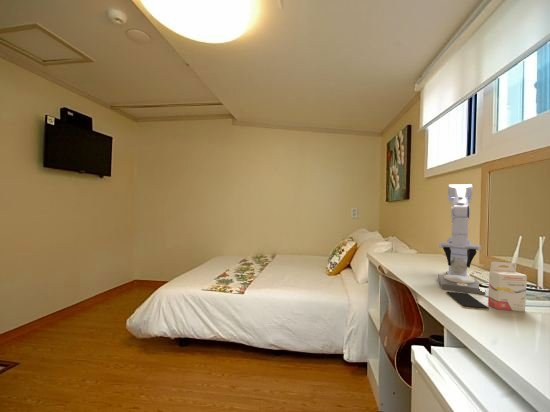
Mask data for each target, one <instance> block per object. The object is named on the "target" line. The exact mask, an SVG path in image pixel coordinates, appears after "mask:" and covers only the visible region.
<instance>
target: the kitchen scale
mask: <svg viewBox="0 0 550 412" xmlns="http://www.w3.org/2000/svg"><path fill="white" fill-rule="evenodd" d="M437 280H438V282H439V284H440V287H441V289H442V290H449V291H454V292H461V293H473V294H479V295H486V291H485V292H482V291H480V289H479V286H478V285H479V283H480V282H479V280H478V279H477V278H474V277H470V276H468V277H465V276H460V275H448V274H437Z"/></svg>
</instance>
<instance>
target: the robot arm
mask: <svg viewBox="0 0 550 412" xmlns="http://www.w3.org/2000/svg"><path fill="white" fill-rule="evenodd" d="M473 186H474V185H473V184H471V183H469V184H451V183H450V184H448V188H447V197H448V199H447V200H448V203H450V204H452V206H451V208H450V209H451V211H450V218H451V236H450V237H448V238H447V240H446V242H439V243H438V247H439V248H440V249H441V248H442V249H443V251H444V254H445V257H446V261H447V265H448V270H446V275H460V276H465V277H469V276H468V268H469V269H470V268H471V264H472V261H473V259H474V257H475V256H476V254H477V253H478V252H477V251H480V252H481V250H482V245H478V244H472V242H471V240H470V239H469V219H470V218H471V206H470V203H472V202H471V201H472V198H473V189H474V188H473ZM454 257H460V258H462V259H464V261H465V262H466V264H467V269H466V271H465V272H464V273H463V274H456V273H454V272H453V271H452V269H451V260H453V259H454Z"/></svg>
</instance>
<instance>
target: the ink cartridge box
mask: <svg viewBox="0 0 550 412" xmlns="http://www.w3.org/2000/svg"><path fill="white" fill-rule="evenodd" d="M500 266H505V267H500ZM489 269H490V270H489V275H488V278H489V279H488V295H487V296H488V297H487V299H488V300H487V304H488V305H489V306H491V307H493V308H494V309H496V310H502V311H515V312H516V311H517V312H526V301H527V300H526V299H527V298H526V297H527V284H528V283H527V281H528V279H527V278H528V276H527V275H526V274H523V273H520V272H517V262H505V261H504V262H501V261H499V262H498V261H491V263H490V268H489Z"/></svg>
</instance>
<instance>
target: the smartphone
mask: <svg viewBox="0 0 550 412" xmlns="http://www.w3.org/2000/svg"><path fill="white" fill-rule="evenodd" d="M445 293H446V295H448V296H449V297H450V298H451V299H452V300H453V301H455V302H456V303H457V304H458V305H460V306H461V307H462V308H464V309H468V310H470V309H471V310H483V311H489V310H490V307H488V306H487V305H485V304H484V303H483V302H481V301H479V300H478V299H476V298H475V297H473V296H472V295H470V294H469V292H460V291H446V292H445Z"/></svg>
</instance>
